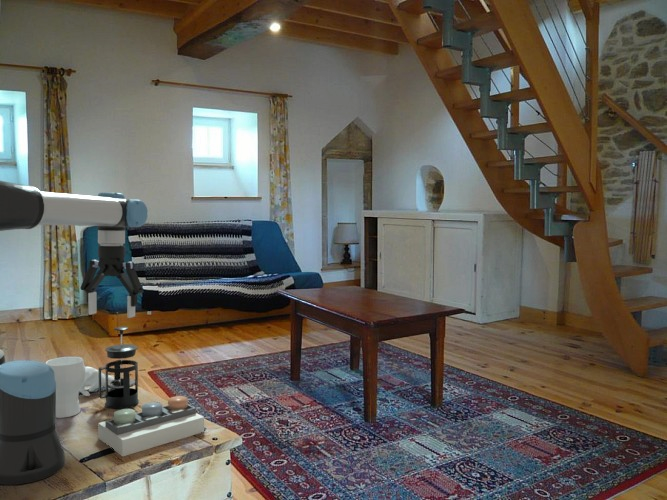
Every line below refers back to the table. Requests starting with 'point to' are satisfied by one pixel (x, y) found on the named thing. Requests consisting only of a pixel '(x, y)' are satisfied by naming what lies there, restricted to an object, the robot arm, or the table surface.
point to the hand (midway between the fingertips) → (111, 315)
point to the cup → (67, 384)
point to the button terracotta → (177, 402)
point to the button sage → (124, 416)
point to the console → (151, 430)
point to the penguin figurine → (93, 380)
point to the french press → (122, 391)
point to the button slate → (152, 409)
